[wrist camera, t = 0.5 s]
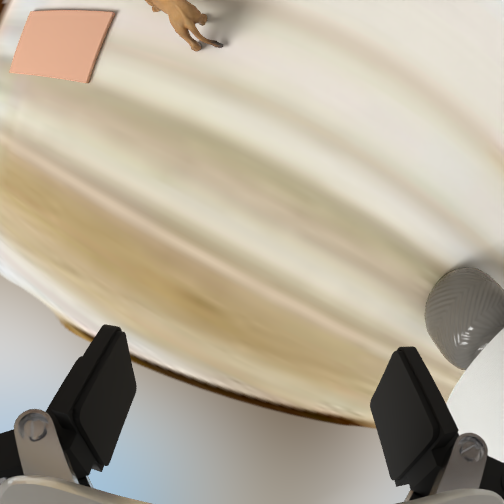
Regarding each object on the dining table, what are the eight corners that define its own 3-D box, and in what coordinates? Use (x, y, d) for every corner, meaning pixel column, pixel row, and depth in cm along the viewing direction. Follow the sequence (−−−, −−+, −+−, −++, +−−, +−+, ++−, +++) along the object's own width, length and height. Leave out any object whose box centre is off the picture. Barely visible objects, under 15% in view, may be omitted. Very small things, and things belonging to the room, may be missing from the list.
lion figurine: (125, 5, 27) (93, -19, 18) (154, -24, 25) (129, -54, 17) (208, 63, 30) (191, 44, 22) (240, 31, 29) (234, 5, 20)
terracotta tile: (34, 13, 26) (30, 11, 25) (116, 14, 28) (113, 12, 26) (13, 72, 29) (9, 72, 28) (90, 83, 31) (85, 82, 30)
